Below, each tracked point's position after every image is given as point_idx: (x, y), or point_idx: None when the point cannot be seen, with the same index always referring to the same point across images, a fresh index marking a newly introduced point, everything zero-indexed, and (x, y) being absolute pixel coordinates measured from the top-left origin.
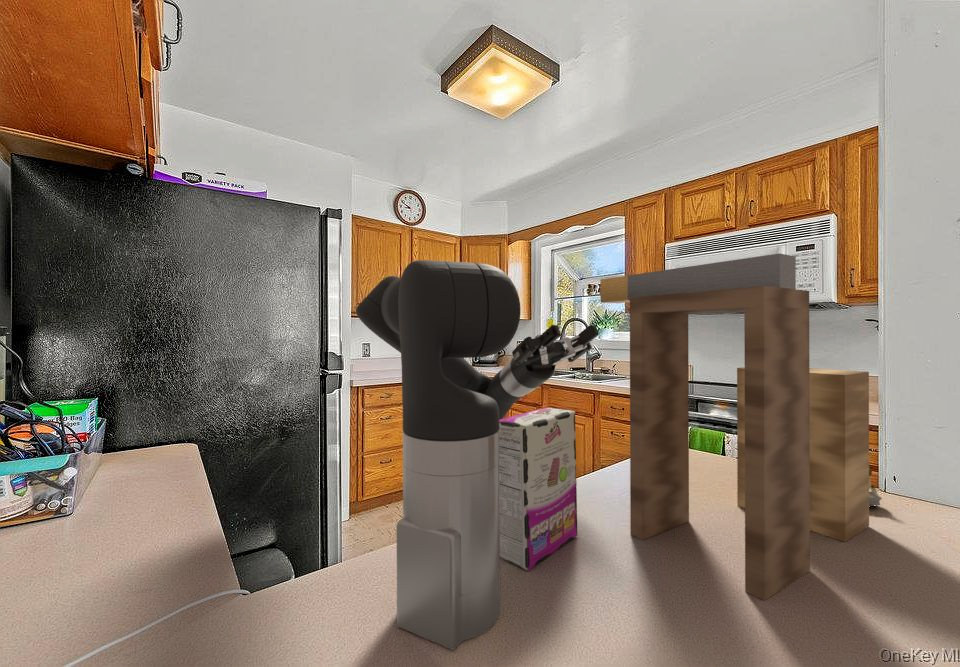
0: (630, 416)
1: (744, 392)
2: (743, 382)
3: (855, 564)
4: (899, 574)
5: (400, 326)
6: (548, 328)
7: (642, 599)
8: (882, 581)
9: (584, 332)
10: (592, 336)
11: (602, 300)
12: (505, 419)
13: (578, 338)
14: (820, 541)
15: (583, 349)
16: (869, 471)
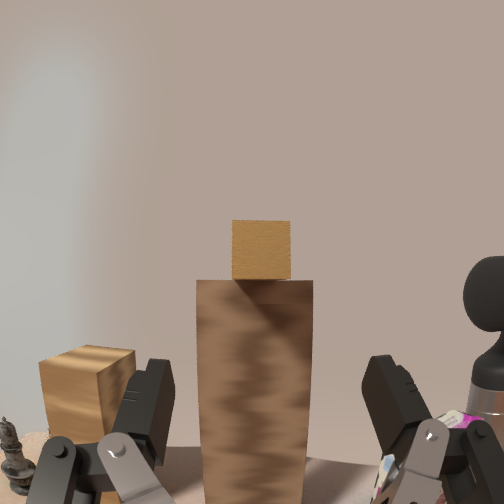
0: (306, 441)
1: (104, 401)
2: (101, 389)
3: (182, 466)
4: (176, 456)
5: None
6: (406, 370)
7: (353, 488)
8: (194, 459)
9: (159, 407)
10: (171, 405)
11: (289, 274)
12: (473, 420)
13: (144, 456)
14: (159, 477)
15: (98, 500)
16: (49, 430)
